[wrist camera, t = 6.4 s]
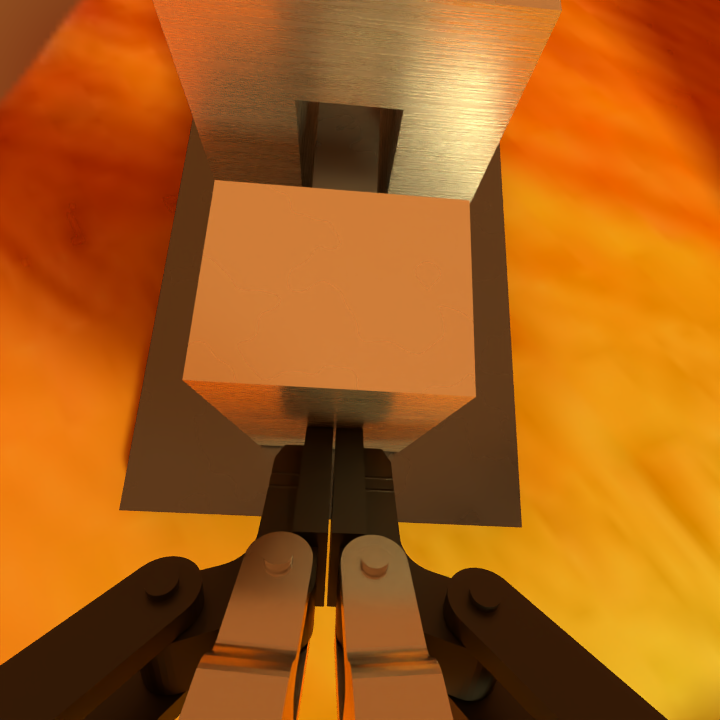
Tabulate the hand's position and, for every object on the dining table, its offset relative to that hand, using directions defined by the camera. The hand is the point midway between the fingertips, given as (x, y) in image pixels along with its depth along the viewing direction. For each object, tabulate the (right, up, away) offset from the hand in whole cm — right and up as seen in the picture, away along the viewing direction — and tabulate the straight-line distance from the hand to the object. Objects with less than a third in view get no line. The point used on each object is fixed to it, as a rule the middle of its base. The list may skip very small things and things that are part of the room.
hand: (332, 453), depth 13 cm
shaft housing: (0, +9, +9) cm, 13 cm away
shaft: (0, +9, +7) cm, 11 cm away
